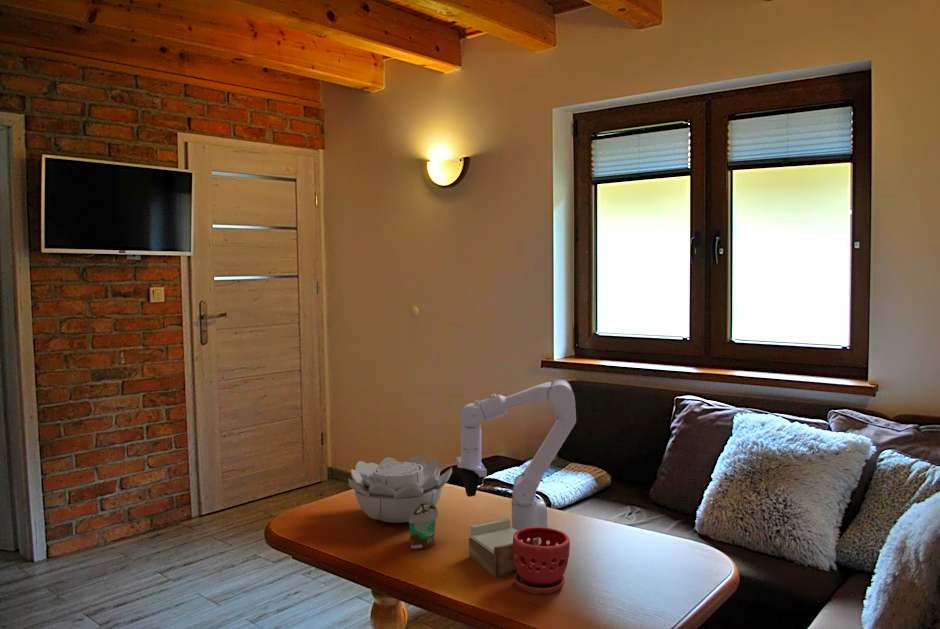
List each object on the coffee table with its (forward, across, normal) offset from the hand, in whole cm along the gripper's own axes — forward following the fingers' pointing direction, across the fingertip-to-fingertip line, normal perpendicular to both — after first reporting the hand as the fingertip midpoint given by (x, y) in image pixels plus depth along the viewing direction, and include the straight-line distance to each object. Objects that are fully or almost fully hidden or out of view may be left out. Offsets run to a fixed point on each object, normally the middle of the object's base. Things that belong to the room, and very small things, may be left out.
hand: (471, 495), depth 206 cm
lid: (+5, +22, -3) cm, 22 cm away
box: (+10, +22, -2) cm, 25 cm away
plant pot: (+10, +38, -2) cm, 40 cm away
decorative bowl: (+11, -22, -14) cm, 28 cm away
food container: (+11, +2, -14) cm, 18 cm away
